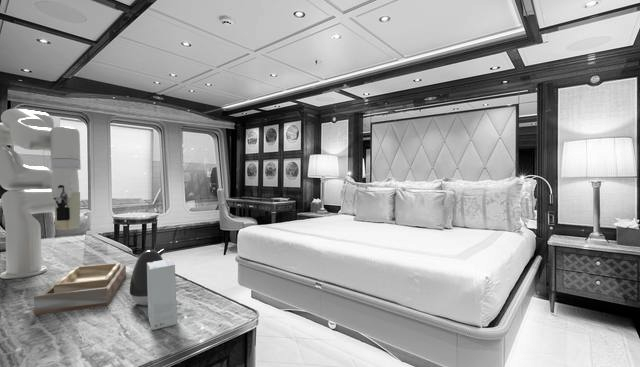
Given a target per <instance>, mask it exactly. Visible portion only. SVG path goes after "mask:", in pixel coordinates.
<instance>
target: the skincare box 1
mask: <svg viewBox="0 0 640 367" xmlns="http://www.w3.org/2000/svg"><path fill="white" fill-rule="evenodd" d="M62 198H67V194H66V193H65V197H62ZM65 202H66V201H65ZM56 204H57V203H56V200H55V212H54V230H62V231H63V230H64V231H69V230H76V229H80V228H81V192H80V191H79V192H73V197H72V199H69V204H68V207H70V220H63V221H57V210H56Z"/></svg>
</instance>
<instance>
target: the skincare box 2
mask: <svg viewBox="0 0 640 367" xmlns="http://www.w3.org/2000/svg"><path fill="white" fill-rule="evenodd" d="M176 283H177V282H176V265H175V263H174V262H173V260H172V259H170V258H167V259H163V260H160V261H154V262H148V263H147V289H148V305H147V309H148V310H147V311H148V313H147V316H148V323H149V325H150V327H151V328H150V329H151V330H152V331H154V330H158V329H163V328H169V327H173V326H177V325H178V308H177V307H178V306H177V284H176Z"/></svg>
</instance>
